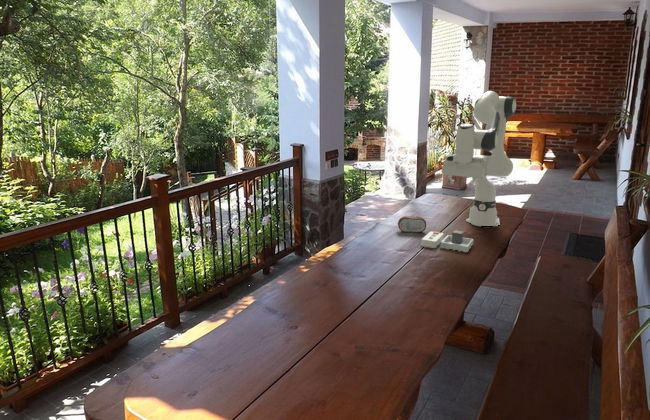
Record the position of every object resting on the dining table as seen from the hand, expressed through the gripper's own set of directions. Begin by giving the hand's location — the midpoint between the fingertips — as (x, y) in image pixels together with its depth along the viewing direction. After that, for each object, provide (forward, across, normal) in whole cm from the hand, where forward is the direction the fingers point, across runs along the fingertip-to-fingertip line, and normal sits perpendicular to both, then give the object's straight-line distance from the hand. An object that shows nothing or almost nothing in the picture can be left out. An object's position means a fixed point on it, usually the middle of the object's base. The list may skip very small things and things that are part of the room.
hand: (461, 185), depth 245 cm
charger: (+28, -2, +11) cm, 30 cm away
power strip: (+29, +10, +9) cm, 31 cm away
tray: (+28, -2, +11) cm, 31 cm away
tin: (+29, +24, 0) cm, 38 cm away
